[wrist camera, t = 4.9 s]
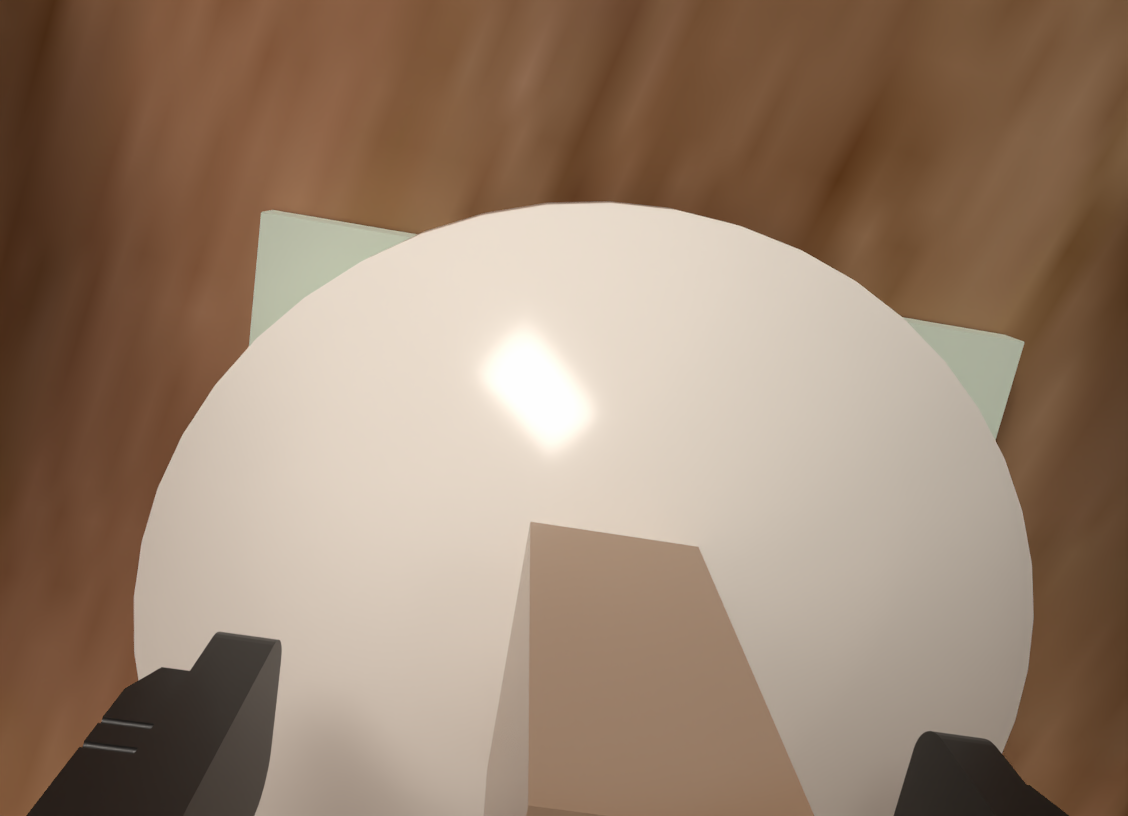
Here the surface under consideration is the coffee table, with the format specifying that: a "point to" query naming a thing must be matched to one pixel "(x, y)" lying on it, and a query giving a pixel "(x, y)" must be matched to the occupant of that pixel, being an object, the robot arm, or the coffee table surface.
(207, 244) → the coffee table surface
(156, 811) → the robot arm
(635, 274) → the lid
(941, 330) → the mat
